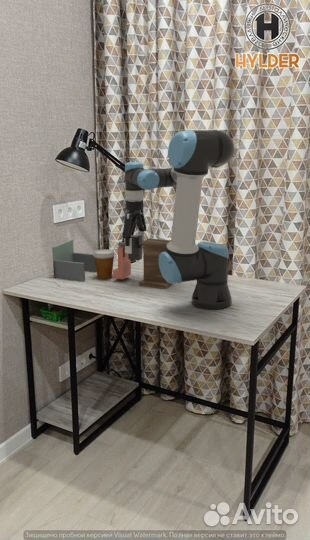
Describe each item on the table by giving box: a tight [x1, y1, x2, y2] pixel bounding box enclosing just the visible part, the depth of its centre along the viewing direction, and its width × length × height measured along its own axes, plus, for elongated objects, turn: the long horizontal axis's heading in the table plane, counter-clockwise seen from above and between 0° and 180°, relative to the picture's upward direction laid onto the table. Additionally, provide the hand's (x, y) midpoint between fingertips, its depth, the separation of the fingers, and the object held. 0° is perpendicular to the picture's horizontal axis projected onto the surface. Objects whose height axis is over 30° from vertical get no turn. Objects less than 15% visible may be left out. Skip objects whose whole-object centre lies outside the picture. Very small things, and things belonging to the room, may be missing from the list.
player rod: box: [112, 234, 143, 280], centre depth 226 cm, size 8×30×18 cm, turn 69°
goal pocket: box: [51, 239, 97, 282], centre depth 240 cm, size 16×15×14 cm
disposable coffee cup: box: [92, 248, 116, 281], centre depth 235 cm, size 10×10×12 cm
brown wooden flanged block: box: [138, 238, 174, 290], centre depth 225 cm, size 12×12×19 cm
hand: (135, 249), depth 228 cm, fingers open, 13 cm apart
